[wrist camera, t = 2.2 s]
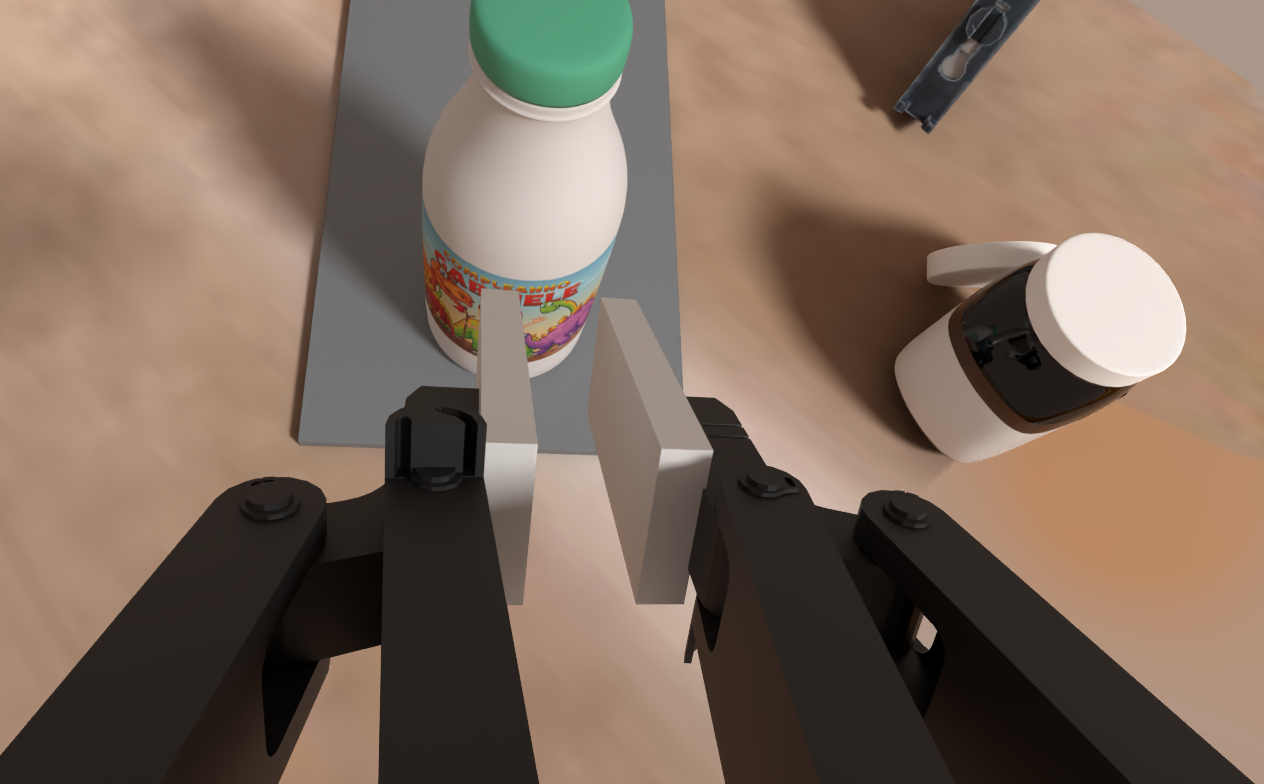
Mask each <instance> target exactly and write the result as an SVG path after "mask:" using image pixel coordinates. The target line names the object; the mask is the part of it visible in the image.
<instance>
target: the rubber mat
mask: <svg viewBox="0 0 1264 784" xmlns="http://www.w3.org/2000/svg"><path fill="white" fill-rule="evenodd" d="M628 1H629V4H630V7H631V11H632V19H633V36H632V41H631V46H630V51H629V54H628V58H627V61H626V63H625V66H624V69H623V71H622V77H621V81H620V85H619V87H618V89H617V91H616V93H615V95H614V96H613V97H612V99H611V100H610V106H611V111H612V114H613V116H614V119H615V121H616V124H617V126H618V129H619V132H620V135H621V138H622V141H623V145H624V150H625V156H626V162H627V193H626V201H625V207H624V212H623V216H622V219H621V223H620V226H619V229H618V233H617V236H616V240H615V243H614V246H613V249H612V252H611V254H610V257H609V260H608V263H607V266H606V268H605V271H604V274H603V277H602V280H601V282H600V285H599V288H598V290H597V293H596V296H595V298H594V301H593V304H592V306H591V309H590V312H589V314H588V317H587V319H586V322H585V325H584V327H583V330H582V332H581V334H580V336H579V339H578V341H577V343H576V344H575V346H574V348H573V349H572V351H571V352H570V353H569V354H568V356H567V357H566V358H565V359H564V360H563V361H562V362H561V363H559V364H558V365H557V366H555V367H554V368H552V369H551V370H549V371H547V372H545V373H543V374H541V375H538V376H536V377H532V378H530V386H531V394H532V402H533V410H534V418H535V426H536V434H537V441H538V448H537V453H549V454H579V455H598V453H597V449H596V446H595V442H594V438H593V434H592V430H591V426H590V422H589V418H588V414H587V409H588V401H589V393H590V384H591V376H592V368H593V359H594V351H595V342H596V334H597V326H598V317H599V309H600V301H601V297H607V298H620V299H634V300H636V301H637V302H638V304H639V306H640V308H641V310H642V312H643V314H644V316H645V318H646V320H647V322H648V324H649V326H650V328H651V330H652V332H653V334H654V336H655V338H656V340H657V341H658V343H659V345H660V347H661V349H662V351H663V353H664V355H665V357H666V359H667V361H668V363H669V365H670V367H671V369H672V371H673V373H674V375H675V377H676V379H677V380H678V382H679V384H680V386H681V388H682V390H683V378H682V357H681V336H680V315H679V294H678V273H677V252H676V231H675V210H674V189H673V168H672V147H671V126H670V105H669V84H668V63H667V42H666V21H665V0H628ZM470 5H471V0H350V8H349V16H348V25H347V33H346V42H345V50H344V58H343V67H342V75H341V83H340V92H339V100H338V109H337V117H336V125H335V134H334V142H333V151H332V159H331V167H330V176H329V184H328V193H327V201H326V209H325V218H324V226H323V235H322V243H321V251H320V260H319V268H318V277H317V285H316V293H315V302H314V310H313V319H312V327H311V335H310V344H309V352H308V361H307V369H306V377H305V386H304V394H303V402H302V411H301V419H300V428H299V436H298V442H299V444H300V445H311V446H341V447H370V448H385V424H386V422H387V419H388V417H389V415H391V414H392V413H394V412H396V411H397V410H399V409H400V408H404V407H405V402H406V398H407V397H408V396H409V395H410V394H412V393H413V392H414V391H415V390H416V389H418V388H419V387H420V386H437V387H458V388H476V374H474V373H472V372H470V371H468V370H466V369H464V368H463V367H461V366H459V365H458V364H457V363H455V362H454V361H453V360H452V359H451V358H450V357H449V356H448V355H447V354H446V353H445V352H444V351H443V350H442V349H441V347H440V346H439V344H438V343H437V341H436V339H435V338H434V336H433V333H432V331H431V329H430V325H429V322H428V317H427V310H426V299H425V281H424V259H423V232H422V181H423V167H424V161H425V155H426V150H427V146H428V143H429V140H430V137H431V134H432V131H433V129H434V126H435V124H436V122H437V120H438V119H439V117H440V115H441V113H442V111H443V110H444V108H445V106H446V105H447V104H448V102H449V101H450V100H451V99H452V97H453V96H454V95H455V94H456V93H457V91H458V90H459V89H460V88H461V87H462V86H463V85H464V84H465V83H466V81H467V80H468V79H469V77H470V75H471V74H472V72H473V70H472V67H471V64H470V60H469V53H468V46H469V39H470V35H469V14H470Z"/></svg>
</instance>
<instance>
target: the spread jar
mask: <svg viewBox="0 0 1264 784" xmlns="http://www.w3.org/2000/svg"><path fill="white" fill-rule="evenodd" d="M927 281H928V282H929V283H932V284H935V285H941V286H949V287H972V288H973V287H983V288H981V289H980V290H978V291H977V292H976V293H974V294H973V295H971V296H970V297H969V298H967V299H966V300H964V301H963V302H962V303H960V304H959V305H958V306H956V307H955V308H954V309H952V310H951V311H950V312H948V313H947V314H946V315H944V316H943V317H942V318H941V319H939V320H938V321H937V322H935V323H934V324H933V325H931V326H930V327H929V328H927V329H926V330H925V331H923V332H922V333H921V334H919V335H918V336H917V337H916V338H915V339H913V340H912V341H911V342H910V343H909V344H908V345H906V346H905V347H904V349H903V350H902V351H901V352H900V354H899V355H898V356H897V359H896V361H895V369H894V373H895V380H896V384H897V388H898V391H899V394H900V396H901V399H902V401H903V403H904V405H905V407H906V409H907V411H908V413H909V415H910V417H911V418H912V420H913V421H914V423H915V425H916V426H917V427H918V429H919V430H920V431H921V432H922V434H923V435H924V436H925V437H926V438H927V440H928V441H929V442H930V443H931V444H932V445H933V446H934V447H935V448H936V449H937V450H938V451H940V452H941V453H942V454H944V455H945V456H946V457H948V458H950V459H952V460H955V461H958V462H963V463H965V462H966V463H967V462H976V461H980V460H984V459H987V458H990V457H993V456H996V455H999V454H1001V453H1003V452H1006V451H1008V450H1011V449H1013V448H1016V447H1018V446H1020V445H1023V444H1025V443H1027V442H1029V441H1031V440H1034V439H1036V438H1038V437H1040V436H1042V435H1045V434H1047V433H1050V432H1052V431H1054V430H1057V429H1059V428H1061V427H1064V426H1066V425H1068V424H1071V423H1074V422H1076V421H1079V420H1081V419H1083V418H1085V417H1087V416H1089V415H1090V414H1092V413H1094V412H1096V411H1098V410H1100V409H1102V408H1103V407H1105V406H1107V405H1109V404H1111V403H1112V402H1114V401H1116V400H1117V399H1119V398H1121V397H1123V396H1125V395H1126V394H1127V392H1128V391H1129V390H1131V389H1132V388H1133V387H1134V386H1135V385H1136V384H1137V383H1138V382H1139V381H1142V380H1144V379H1146V378H1148V377H1151V376H1153V375H1155V374H1157V373H1159V372H1162V371H1164V370H1165V369H1166V368H1168V367H1169V366H1170V365H1172V364H1173V363H1174V361H1175V360H1176V359H1177V357H1178V356H1179V355H1180V353H1181V350H1182V348H1183V345H1184V342H1185V335H1186V319H1185V313H1184V309H1183V305H1182V302H1181V299H1180V297H1179V295H1178V292H1177V290H1176V288H1175V286H1174V285H1173V283H1172V282H1171V280H1170V278H1169V277H1168V275H1167V274H1166V273H1165V272H1164V271H1163V269H1162V268H1161V267H1160V266H1159V265H1158V263H1156V262H1155V261H1154V260H1153V259H1152V258H1151V257H1150V256H1149V255H1148V254H1147V253H1145V252H1144V251H1142V250H1141V249H1139V248H1138V247H1136V246H1135V245H1133V244H1131V243H1129V242H1127V241H1125V240H1123V239H1121V238H1118V237H1115V236H1112V235H1108V234H1102V233H1082V234H1079V235H1075V236H1072V237H1070V238H1068V239H1067V240H1065V241H1063V242H1062V243H1060V244H1059V245H1054V244H1050V243H1042V242H1029V241H1002V242H986V243H975V244H967V245H960V246H954V247H949V248H945V249H941V250H937V251H934V252H932V253H930V254H929V255H928V256H927Z"/></svg>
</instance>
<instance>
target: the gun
mask: <svg viewBox="0 0 1264 784" xmlns="http://www.w3.org/2000/svg"><path fill="white" fill-rule="evenodd" d="M1039 1H1040V0H975V2H974V3H973V4H972V6H971V7H970V8H969V10H968V11H967V12H966V14H965V15H964V16H963V17H962V19H961V20H960V21H959V23H958V24H957V25H956V27H955V28H954V29H953V30H952V32H951V33H950V34H949V36H948V37H947V38H946V40H945V41H944V42H943V43H942V45H941V46H940V47H939V49H938V50H937V51H936V53H935V54H934V55H933V56H932V58H931V59H930V60H929V62H928V63H927V64H926V66H925V67H924V68H923V69H922V71H921V72H920V73H919V75H918V76H917V77H916V79H915V80H914V81H913V82H912V84H911V85H910V86H909V88H908V89H907V90H906V92H905V93H904V94H903V95H902V97H901V98H900V99H899V101H898V102H897V103H896V104H895V106H894V107H893V108H894V109H895V110H897V111H898V112H901V113H903V111H904V110H905V111H906V112H907V113H909V114H910V115H911V116H913V117H914V118H915V119H917V120H918V121H919V122H921V123H922V124H923V125H922V126H921V128H922V129H923V131H925V132H926V133H927V134H929V133H930V132H931V131H932V130H933V128H934V127H935V126H936V124H937V123H938V122H939V121H940V119H941V118H942V117H943V116H944V115H945V113H946V112H947V111H948V110H949V109H950V107H951V106H952V105H953V104H954V103H955V101H956V100H957V99H958V98H959V97H960V95H961V94H962V93H963V92H964V91H965V90H966V88H967V87H968V86H969V85H970V84H971V82H972V81H973V80H974V79H975V78H976V76H977V75H978V74H979V73H980V72H981V70H982V69H983V68H984V67H985V66H986V64H987V63H988V62H989V61H990V60H991V59H992V57H993V56H994V55H995V54H996V53H997V51H998V50H999V49H1000V48H1001V47H1002V45H1003V44H1004V43H1005V42H1006V41H1007V39H1008V38H1009V37H1010V36H1011V35H1012V33H1013V32H1014V31H1015V30H1016V29H1017V27H1018V26H1019V25H1020V24H1021V23H1022V22H1023V20H1024V19H1025V18H1026V17H1027V16H1028V14H1029V13H1030V12H1031V11H1032V10H1033V8H1034V7H1035V6H1036V5H1037V4H1038V2H1039Z"/></svg>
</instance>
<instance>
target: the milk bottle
mask: <svg viewBox="0 0 1264 784" xmlns="http://www.w3.org/2000/svg"><path fill="white" fill-rule="evenodd" d="M469 35H470V39H469V46H468V53H469V60H470V64H471V67H472V70H473V72H472V74H471V75H470V77H469V79H468V80H467V81H466V83H465V84H464V85H463V86H462V87H461V88H460V89H459V90H458V91H457V93H456V94H455V95H454V96H453V97H452V99H451V100H450V101H449V102H448V104H447V105H446V106H445V108H444V110H443V111H442V113H441V115H440V117H439V119H438V120H437V122H436V124H435V126H434V129H433V131H432V134H431V137H430V140H429V143H428V146H427V150H426V155H425V161H424V167H423V181H422V232H423V259H424V281H425V299H426V310H427V317H428V322H429V325H430V329H431V331H432V333H433V336H434V338H435V339H436V341H437V343H438V344H439V346H440V347H441V349H442V350H443V351H444V352H445V353H446V354H447V355H448V356H449V357H450V358H451V359H452V360H453V361H454V362H455V363H457V364H458V365H459V366H461V367H463V368H464V369H466V370H468V371H470V372H472V373H474V374H476V371H477V354H478V336H479V319H480V301H481V288H483V289H497V290H511V291H519V299H520V307H521V315H522V323H523V331H524V339H525V347H526V355H527V362H528V370H529V378H532V377H536V376H538V375H541V374H543V373H545V372H547V371H549V370H551V369H552V368H554V367H555V366H557V365H558V364H559V363H561V362H562V361H563V360H564V359H565V358H566V357H567V356H568V354H569V353H570V352H571V351H572V349H573V348H574V346H575V344H576V343H577V341H578V339H579V336H580V334H581V332H582V330H583V327H584V325H585V322H586V319H587V317H588V314H589V312H590V309H591V306H592V304H593V301H594V298H595V296H596V293H597V290H598V288H599V285H600V282H601V280H602V277H603V274H604V271H605V268H606V266H607V263H608V260H609V257H610V254H611V252H612V249H613V246H614V243H615V240H616V236H617V233H618V229H619V226H620V223H621V219H622V216H623V212H624V207H625V201H626V193H627V162H626V156H625V150H624V145H623V141H622V138H621V135H620V132H619V129H618V126H617V124H616V121H615V119H614V116H613V114H612V111H611V106H610V100H611V99H612V97H613V96H614V95H615V93H616V91H617V89H618V87H619V85H620V81H621V77H622V71H623V69H624V66H625V63H626V61H627V58H628V54H629V51H630V46H631V41H632V36H633V19H632V11H631V7H630V4H629V1H628V0H471V5H470V14H469Z"/></svg>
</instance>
